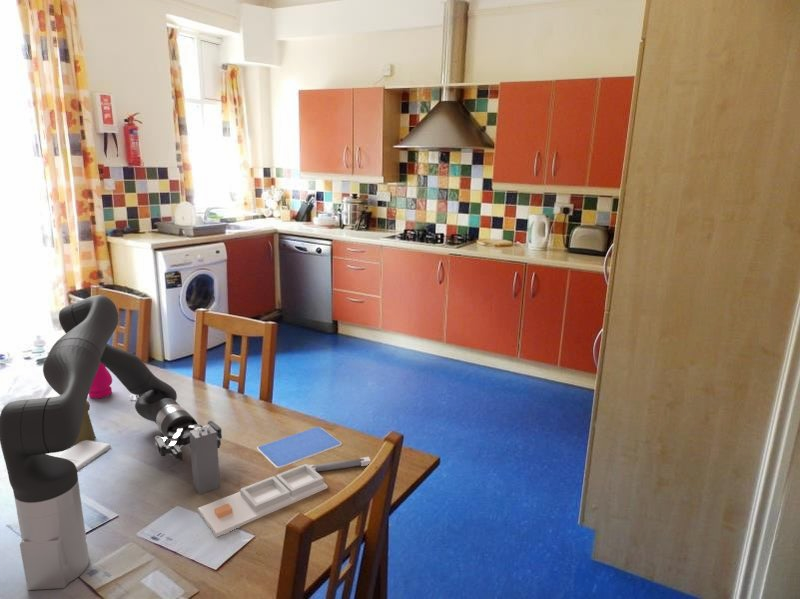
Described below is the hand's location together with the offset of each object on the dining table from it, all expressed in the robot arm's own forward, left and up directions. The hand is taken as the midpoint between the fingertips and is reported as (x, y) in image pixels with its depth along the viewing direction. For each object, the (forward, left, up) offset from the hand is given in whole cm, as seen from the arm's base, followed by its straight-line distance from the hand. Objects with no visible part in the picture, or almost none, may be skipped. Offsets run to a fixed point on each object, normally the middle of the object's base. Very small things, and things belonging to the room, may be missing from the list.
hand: (199, 450), depth 120 cm
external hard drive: (+12, +33, -9) cm, 36 cm away
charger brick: (-2, -2, -8) cm, 8 cm away
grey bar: (+3, -32, -8) cm, 33 cm away
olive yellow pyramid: (+21, +35, -8) cm, 42 cm away
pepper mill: (+49, +42, -8) cm, 65 cm away
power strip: (-8, -16, -8) cm, 19 cm away
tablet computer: (+14, -22, -9) cm, 27 cm away
